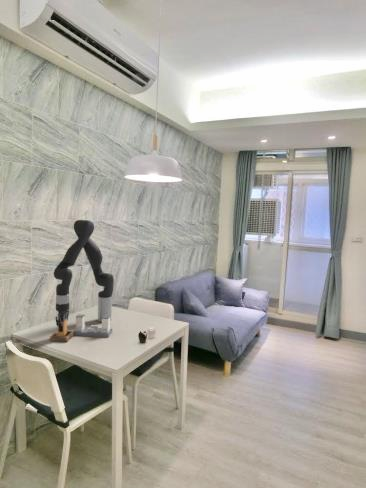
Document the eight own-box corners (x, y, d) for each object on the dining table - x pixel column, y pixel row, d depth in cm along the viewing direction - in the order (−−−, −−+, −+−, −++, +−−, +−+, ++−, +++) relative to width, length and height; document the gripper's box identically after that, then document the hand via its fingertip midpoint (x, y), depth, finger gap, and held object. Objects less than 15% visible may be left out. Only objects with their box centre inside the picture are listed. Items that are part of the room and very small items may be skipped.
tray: (57, 334, 194) (57, 330, 194) (73, 335, 194) (73, 331, 194) (50, 340, 184) (50, 336, 184) (67, 342, 184) (67, 337, 184)
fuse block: (78, 329, 203) (78, 312, 202) (112, 331, 203) (112, 314, 202) (72, 335, 195) (72, 317, 194) (108, 337, 194) (108, 319, 193)
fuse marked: (60, 332, 191) (60, 317, 190) (67, 332, 191) (67, 318, 190) (57, 335, 187) (57, 319, 186) (64, 335, 187) (64, 320, 186)
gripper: (61, 298, 194) (61, 325, 196) (50, 304, 180) (50, 334, 182) (73, 299, 194) (73, 326, 196) (63, 305, 180) (63, 335, 182)
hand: (62, 330), depth 189 cm, fingers closed on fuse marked, 4 cm apart
